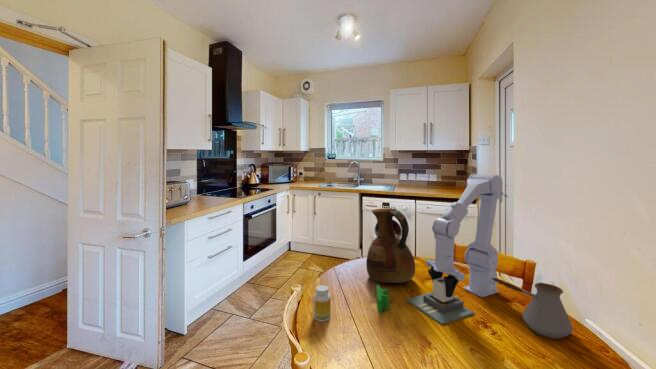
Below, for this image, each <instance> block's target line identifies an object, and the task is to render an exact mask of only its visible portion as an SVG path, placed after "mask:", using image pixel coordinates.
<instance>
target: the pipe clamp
mask: <svg viewBox="0 0 656 369" xmlns="http://www.w3.org/2000/svg"><path fill="white" fill-rule="evenodd" d="M375 293H376V295H375V296H376V304H377V305H376V307H377V312H378V314H382V313H383V312H382V310H384V309H386V310H390V295H389V289H387V288H381V287H380V285H379V284H376V292H375Z"/></svg>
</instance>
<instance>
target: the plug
mask: <svg viewBox="0 0 656 369" xmlns="http://www.w3.org/2000/svg"><path fill="white" fill-rule="evenodd" d="M443 277H444V276H442V277H441V278H437V279H433V282H432V292H433V297H435V298H436V299H438V300H439V301H440V302H441V303H446V301H450V300H453V296H454V294H453V295H452V297H449V298H448V297H446V286H445V281H444V278H443Z"/></svg>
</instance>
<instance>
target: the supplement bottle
mask: <svg viewBox="0 0 656 369" xmlns="http://www.w3.org/2000/svg"><path fill="white" fill-rule="evenodd" d="M331 304H332V302H331V294H330V293H329V286H327V285H322V284H321V285H318V286H316V287H315V293H314V294H313V318H314V320H315V321H317V322H326V321H328V320H330V318H331V313H332V312H331V308H332V307H331Z"/></svg>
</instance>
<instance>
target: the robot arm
mask: <svg viewBox="0 0 656 369" xmlns="http://www.w3.org/2000/svg"><path fill="white" fill-rule="evenodd" d="M503 184H504V183H503V180H502V178H501V176H500V175H498V174H475V173H472V174H471V175H469V177H468V178H467V179H466V187H465V189H464V190H463V193H462V194H461V196H460V197H459V199H458V200H457V201H454V202H452V203H451V204H450V206H449V207H448V208H447V209H446V211H445V212H444V213H443V215H442V216H441V217H439V218H436V219H435V220H434V221H433V223H432V226H431V229H432V232H433V234H434V235H433V237H434V239H435V251H434V253H435V255H434V256H435V257H434V258H435V259H434V260H433V259H428V260H425V265H426V267H430V268H429V269H428V270H427V273H428V275H429V276H430V279H431V281H432V283H433V279H437V278H441V277H443V278H444V281H445V286H446V297H448V298H449V297H452V295H453V296H454V292H455V289H456V287H457V285H458V284H459V282H462V281H465V273H463V272H461V271H460V270H458V269H456V268H455V267H454V263H455V261H454V260H455V258H454V257H455V238H456V237H457V236H458V234H459V232H460V227H461V225H462V224H461V223H462V222H463V220H464V218H465V217H466V216H467V215H468V214H469V213H468V212H469V210H468V207H469V206H470V205H471V204H472V203H473V202H474V201H475V200H476V199H477V198H479V200H480V206H479V214H478V218H477V225H476V232H475V239H474V241H473V242H470V243H469V244H467V249H466V251H465V253H464V260H465V262H466V263H467V266H468V267H469V272H468V274H469V276H468V277H469V279H468V285H467V286H466V285H465V286H463V290H466V291H468V292H470V293H472V294H474V295H476V296H478V297H480V298H485V297H488V296H491V295H494V294H497V293H499V290H498V289H497V288H498V282H496V281H495V282H494V280H493V279H491V278H496V279H498V274H497V271H496V269H497V267H498V265H499V257H498V250H497V249H496V247H495V246H494V245H492V237H493V229H494V224H495V219H496V218H495V217H496V209H497V204H498V200H499V199H501V195H502V191H503ZM443 274H446V275H447V276H446V275H445V276H443ZM490 279H491V281H490ZM490 282H491V284H490ZM493 283H494V284H493Z"/></svg>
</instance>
